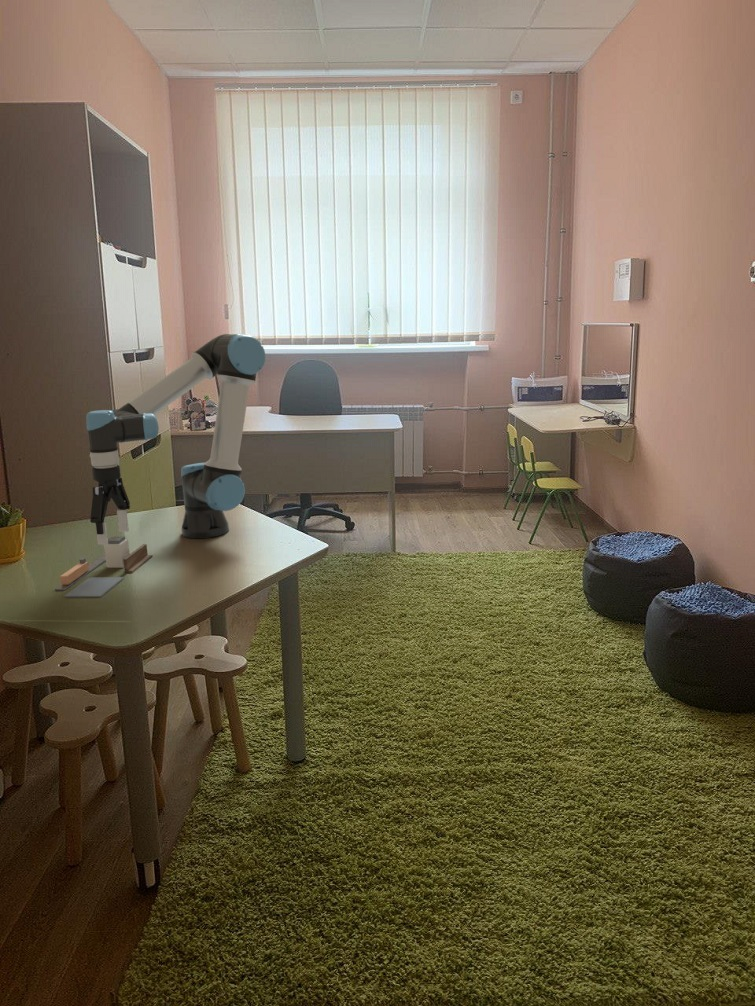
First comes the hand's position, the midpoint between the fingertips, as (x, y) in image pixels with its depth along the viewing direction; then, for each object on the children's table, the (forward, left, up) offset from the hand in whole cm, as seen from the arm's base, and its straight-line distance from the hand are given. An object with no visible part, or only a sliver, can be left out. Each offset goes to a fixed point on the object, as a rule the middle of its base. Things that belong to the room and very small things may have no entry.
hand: (113, 537), depth 230 cm
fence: (-6, 0, -8) cm, 10 cm away
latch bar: (+7, +12, -8) cm, 16 cm away
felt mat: (-2, +19, -8) cm, 21 cm away
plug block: (0, 0, -8) cm, 8 cm away
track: (+7, +7, -8) cm, 13 cm away
